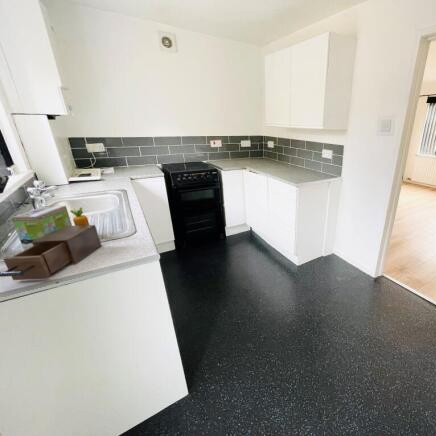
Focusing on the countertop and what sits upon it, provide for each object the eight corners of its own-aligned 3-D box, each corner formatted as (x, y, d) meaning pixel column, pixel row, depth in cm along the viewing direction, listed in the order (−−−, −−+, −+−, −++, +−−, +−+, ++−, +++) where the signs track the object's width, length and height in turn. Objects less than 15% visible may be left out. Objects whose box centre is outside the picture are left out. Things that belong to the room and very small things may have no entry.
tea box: (52, 250, 100) (38, 215, 94) (23, 252, 98) (8, 217, 93) (76, 235, 113) (66, 204, 108) (52, 236, 112) (40, 206, 107)
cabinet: (75, 264, 89) (66, 240, 85) (41, 265, 88) (31, 241, 85) (101, 246, 102) (95, 224, 99) (72, 247, 102) (64, 226, 98)
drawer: (33, 287, 74) (23, 265, 71) (-4, 289, 73) (-15, 267, 70) (78, 258, 91) (72, 239, 88) (49, 259, 90) (41, 240, 88)
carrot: (78, 243, 105) (66, 210, 100) (82, 239, 109) (71, 207, 104) (92, 241, 107) (81, 208, 102) (95, 237, 111) (85, 205, 106)
